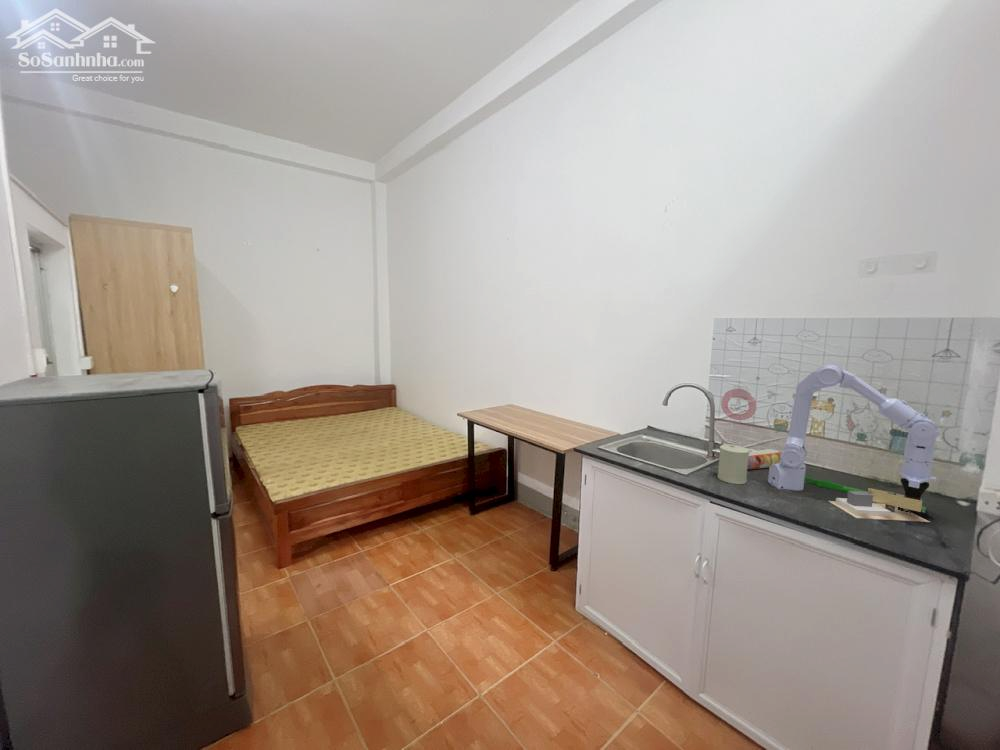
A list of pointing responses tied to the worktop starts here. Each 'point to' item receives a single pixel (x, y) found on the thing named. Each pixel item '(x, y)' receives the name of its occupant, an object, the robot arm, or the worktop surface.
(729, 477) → the can
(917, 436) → the robot arm
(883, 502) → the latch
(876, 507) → the cover
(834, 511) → the worktop surface
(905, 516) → the board
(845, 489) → the green onion
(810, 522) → the worktop surface
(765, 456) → the snack package
